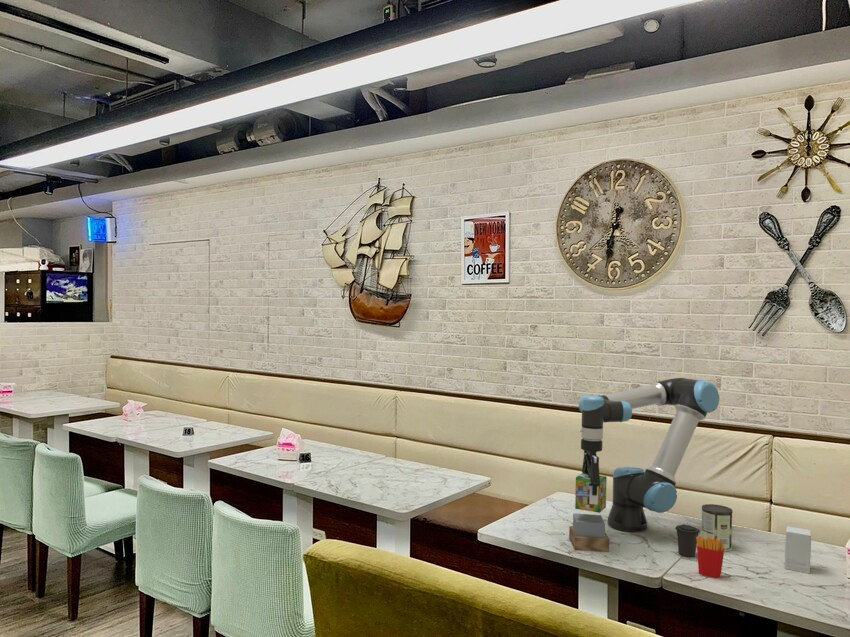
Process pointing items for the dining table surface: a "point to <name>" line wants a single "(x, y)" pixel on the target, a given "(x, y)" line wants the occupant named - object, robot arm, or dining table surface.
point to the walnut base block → (588, 542)
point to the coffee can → (717, 524)
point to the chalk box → (584, 493)
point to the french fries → (710, 556)
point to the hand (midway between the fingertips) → (589, 499)
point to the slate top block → (589, 525)
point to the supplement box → (797, 549)
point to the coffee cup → (687, 540)
